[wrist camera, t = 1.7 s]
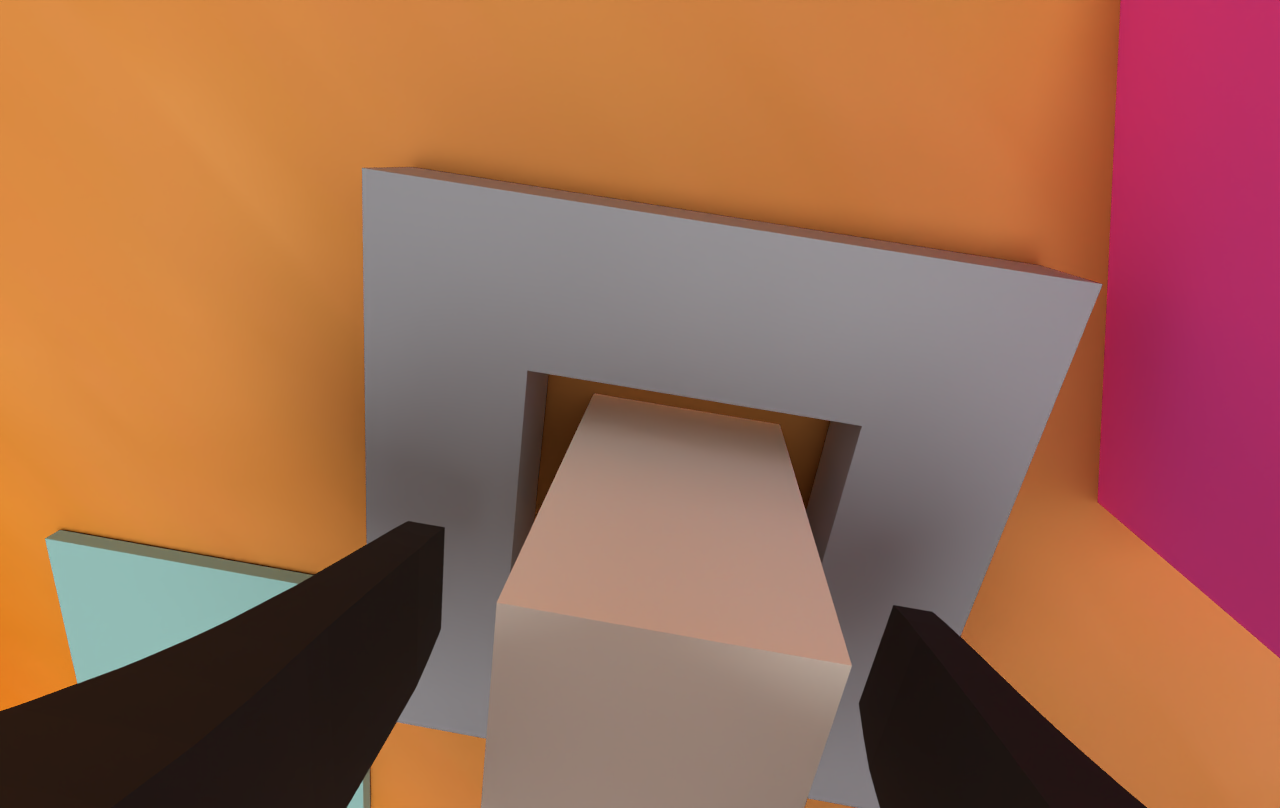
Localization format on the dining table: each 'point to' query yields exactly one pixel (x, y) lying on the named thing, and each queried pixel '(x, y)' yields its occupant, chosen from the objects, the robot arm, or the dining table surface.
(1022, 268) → the pocket board
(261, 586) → the pad
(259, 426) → the dining table surface
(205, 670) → the robot arm
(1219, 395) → the bracket
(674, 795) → the block
